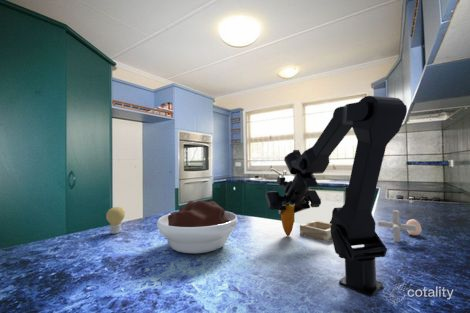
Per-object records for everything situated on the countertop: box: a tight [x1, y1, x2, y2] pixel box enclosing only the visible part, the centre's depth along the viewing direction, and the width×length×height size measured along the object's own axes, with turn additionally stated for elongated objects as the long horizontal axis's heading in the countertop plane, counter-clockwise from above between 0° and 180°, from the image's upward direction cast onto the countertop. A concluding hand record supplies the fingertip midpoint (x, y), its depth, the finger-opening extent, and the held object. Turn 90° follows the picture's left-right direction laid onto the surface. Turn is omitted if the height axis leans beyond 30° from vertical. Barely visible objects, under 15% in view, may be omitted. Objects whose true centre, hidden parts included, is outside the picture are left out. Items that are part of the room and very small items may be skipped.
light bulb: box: [105, 206, 126, 235], centre depth 86 cm, size 6×6×10 cm
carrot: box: [280, 203, 295, 237], centre depth 79 cm, size 5×5×15 cm
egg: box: [405, 218, 422, 236], centre depth 79 cm, size 4×4×6 cm
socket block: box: [299, 220, 333, 243], centre depth 80 cm, size 10×10×4 cm
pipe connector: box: [377, 209, 416, 243], centre depth 73 cm, size 10×10×10 cm
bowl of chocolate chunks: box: [156, 199, 239, 254], centre depth 70 cm, size 25×25×15 cm
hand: (285, 212), depth 81 cm, fingers closed on carrot, 5 cm apart
